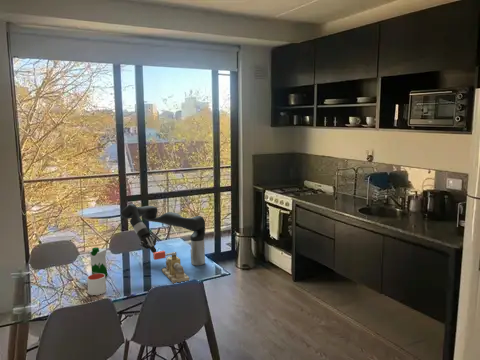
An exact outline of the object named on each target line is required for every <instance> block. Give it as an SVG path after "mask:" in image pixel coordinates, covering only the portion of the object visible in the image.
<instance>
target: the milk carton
mask: <svg viewBox="0 0 480 360" xmlns="http://www.w3.org/2000/svg"><path fill="white" fill-rule="evenodd" d="M88 253H89V256H90V266H91V275H93V274H99V273H100V274H104V275H105V278H107V277H108V275H109V274H108V270H107V258H106V257H107V256H106V255H107V249H106V248H99V247H93V248H91V250H90V251H88Z"/></svg>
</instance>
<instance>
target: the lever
mask: <svg viewBox="0 0 480 360" xmlns="http://www.w3.org/2000/svg"><path fill="white" fill-rule="evenodd" d="M152 255H153V260H155V261H156V260H161V259H166V258H167V257H168V256H171V257H172V256H176V257H177V251H172V252H168V253H166V251H165V250H160V251H156V252H153V253H152Z"/></svg>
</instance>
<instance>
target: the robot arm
mask: <svg viewBox="0 0 480 360" xmlns="http://www.w3.org/2000/svg"><path fill="white" fill-rule="evenodd" d="M157 214H158V208H157V207H156V206H153V205H145V206H143V205H142V206H136V204H133V203H128V205H126V207H124V208H123V209H122V210H121V216H122V217H123V218H124V219H127V220H129V224H130V225H131V226H132V227H131V228H133V230H134V232H135V234H136V236H137V237H138V239H139V240H140V242H139V246H140V247H143V248H144V249H147V250H148V249H149V250H150V251H151V253H152V254H153V252H157V248H156V247H155V246H156V245H157V237H153V236H152V234H151V232H150V231H149V229H148V228H147V226H146V224H145V223H144V222H143V220H145V221H147V222H151V223H153V222H154V223H159V224H163V225H168V226H174V227H177V228H183V229H186V230H189V231H192V234H191V235H190V262H191V265H192V266H202V265H204V264H206V258H205V257H206V256H205V255H206V253H205V251H206V250H205V236H206V221H205V218H204V217H203V216H202V215H196V216H193V217H183V216H181V214H179V213H176V212H173V211H168V212H165V213H163V214H162V215H159V216H157ZM141 217H143V220H142V219H141Z"/></svg>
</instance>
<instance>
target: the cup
mask: <svg viewBox="0 0 480 360" xmlns="http://www.w3.org/2000/svg"><path fill="white" fill-rule="evenodd" d="M86 279H87V280H86V282H87V290H88V291H87V292H88V294H89V295H90V296H93V295H96V296H101V295H103V294H105V293H106V291H107V281H106V280H107V279H106V277H105V275H104V274H100V273H99V274H93V275H92V274H90V275H88V276H87V277H86ZM100 294H101V295H100Z"/></svg>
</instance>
